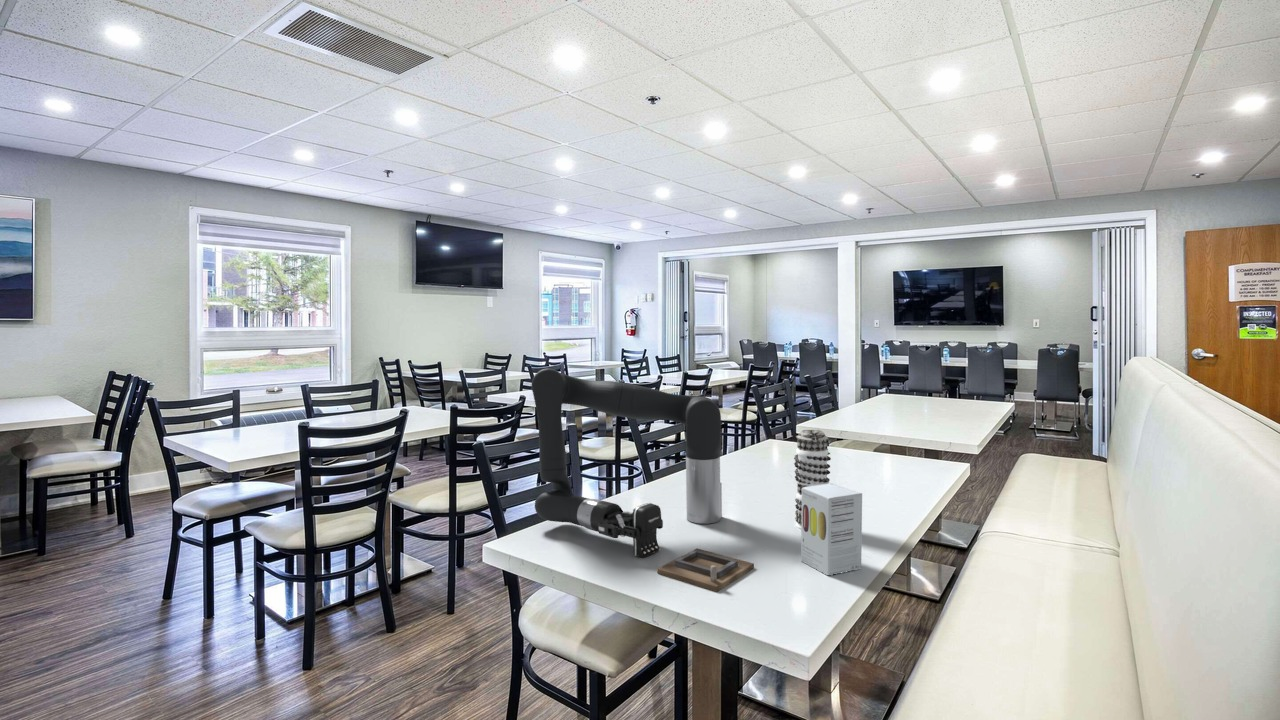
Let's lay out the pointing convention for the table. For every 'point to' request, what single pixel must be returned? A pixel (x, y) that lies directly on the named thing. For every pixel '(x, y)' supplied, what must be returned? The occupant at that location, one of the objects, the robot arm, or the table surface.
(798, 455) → the decorative candle
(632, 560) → the table surface
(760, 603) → the table surface
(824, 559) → the supplement box
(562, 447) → the robot arm
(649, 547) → the battery charger
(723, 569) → the locating plate
